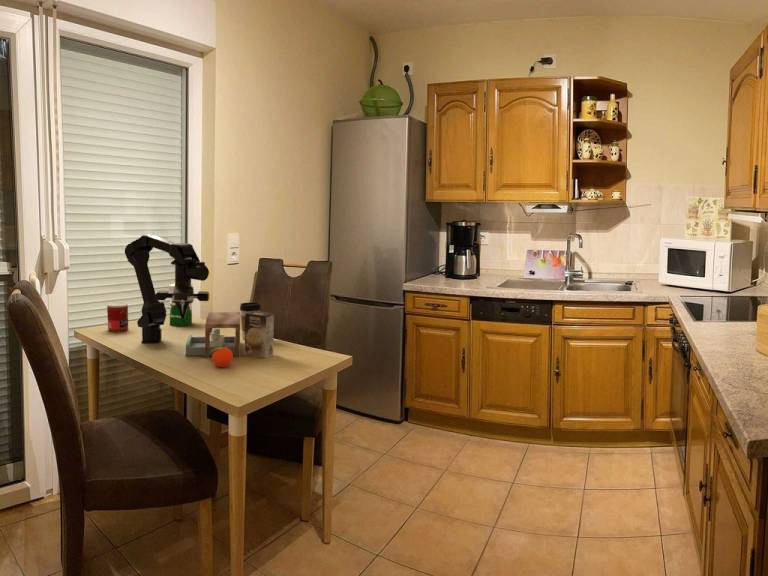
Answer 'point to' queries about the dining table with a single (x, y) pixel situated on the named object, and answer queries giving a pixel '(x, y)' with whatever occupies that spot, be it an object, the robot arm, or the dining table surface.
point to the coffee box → (259, 334)
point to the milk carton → (175, 314)
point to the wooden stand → (222, 322)
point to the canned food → (117, 316)
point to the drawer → (198, 345)
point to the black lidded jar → (245, 309)
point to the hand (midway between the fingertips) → (182, 318)
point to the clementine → (222, 356)
